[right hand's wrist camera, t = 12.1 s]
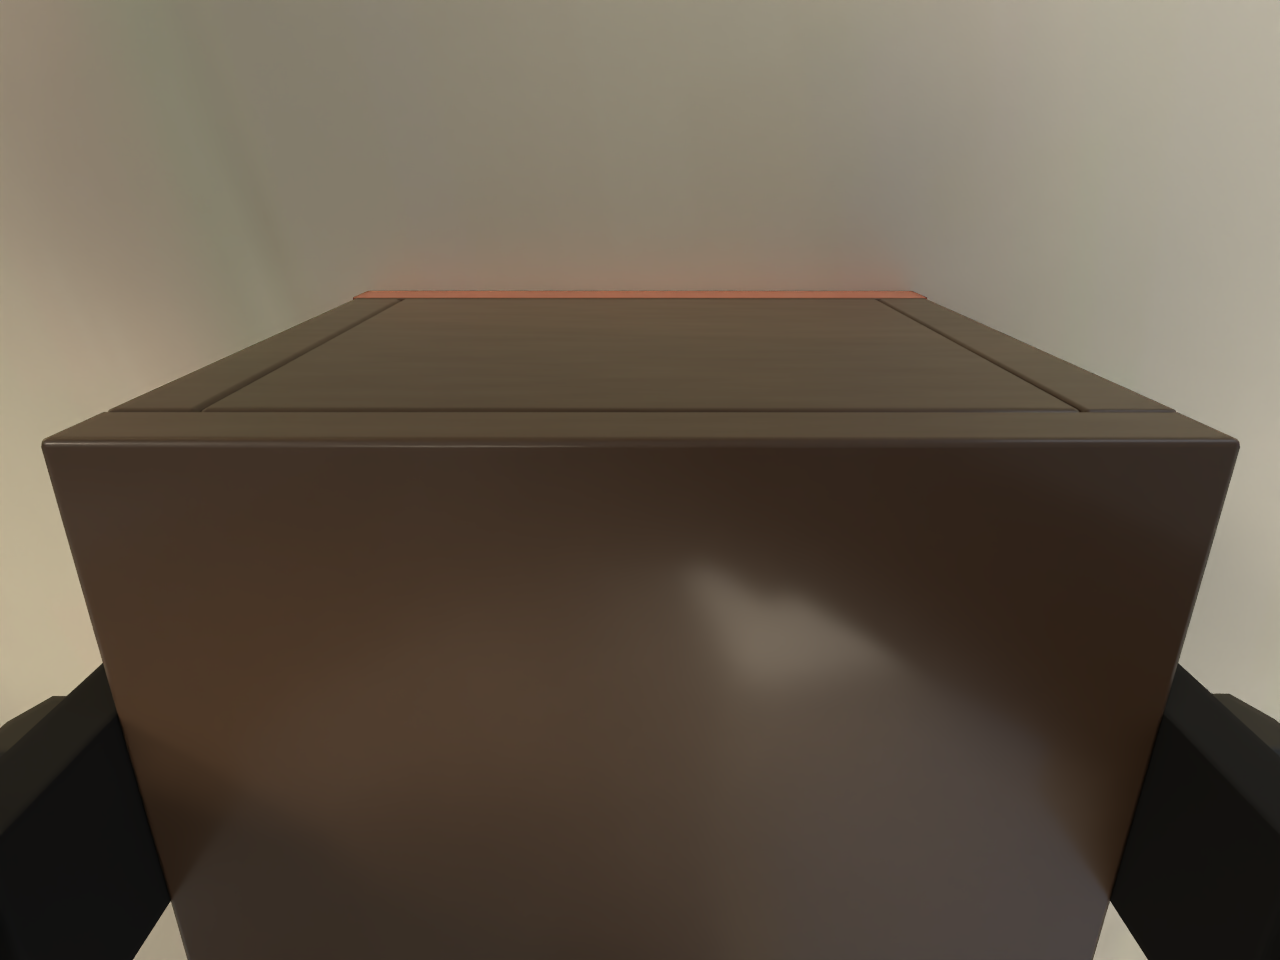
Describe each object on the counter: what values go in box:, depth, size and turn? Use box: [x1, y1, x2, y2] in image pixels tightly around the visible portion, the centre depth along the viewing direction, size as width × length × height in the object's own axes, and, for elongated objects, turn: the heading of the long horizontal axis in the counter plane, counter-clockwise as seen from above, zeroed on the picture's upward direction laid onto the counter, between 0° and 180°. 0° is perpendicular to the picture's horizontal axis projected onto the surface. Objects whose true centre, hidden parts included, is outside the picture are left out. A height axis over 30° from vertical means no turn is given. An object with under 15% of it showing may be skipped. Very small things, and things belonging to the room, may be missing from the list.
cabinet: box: [41, 291, 1240, 960], centre depth 15 cm, size 18×11×10 cm, turn 0°
